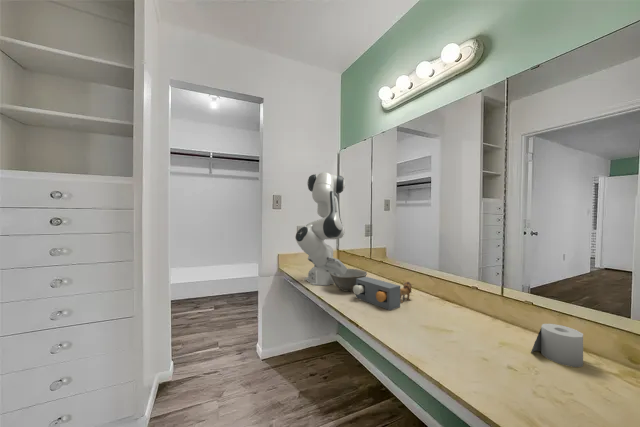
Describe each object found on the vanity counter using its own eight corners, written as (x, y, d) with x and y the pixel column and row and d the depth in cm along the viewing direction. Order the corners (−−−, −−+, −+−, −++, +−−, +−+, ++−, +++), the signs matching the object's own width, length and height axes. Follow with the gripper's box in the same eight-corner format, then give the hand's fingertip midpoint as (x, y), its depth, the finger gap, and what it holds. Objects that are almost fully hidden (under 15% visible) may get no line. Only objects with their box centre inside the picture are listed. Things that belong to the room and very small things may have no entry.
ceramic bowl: (324, 292, 141) (324, 275, 141) (334, 282, 163) (334, 267, 163) (363, 297, 134) (363, 278, 134) (369, 285, 156) (369, 269, 156)
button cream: (353, 293, 129) (353, 284, 130) (359, 292, 132) (359, 283, 132) (359, 296, 126) (359, 286, 126) (366, 294, 128) (366, 285, 128)
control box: (355, 297, 133) (356, 278, 133) (366, 294, 138) (366, 276, 138) (389, 310, 115) (389, 288, 115) (400, 306, 120) (400, 285, 120)
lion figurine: (404, 296, 136) (404, 279, 136) (413, 298, 132) (414, 281, 132) (389, 302, 126) (390, 284, 126) (399, 305, 122) (399, 286, 122)
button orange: (375, 300, 119) (375, 290, 119) (382, 298, 122) (382, 288, 122) (383, 303, 115) (383, 292, 115) (390, 301, 118) (390, 291, 118)
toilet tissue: (522, 351, 81) (522, 324, 81) (560, 349, 82) (560, 323, 82) (551, 368, 72) (551, 338, 72) (592, 366, 73) (592, 336, 73)
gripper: (340, 254, 107) (356, 273, 113) (313, 248, 124) (328, 265, 130) (331, 265, 105) (348, 285, 111) (305, 258, 121) (321, 275, 127)
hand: (337, 274), depth 120 cm, fingers closed
